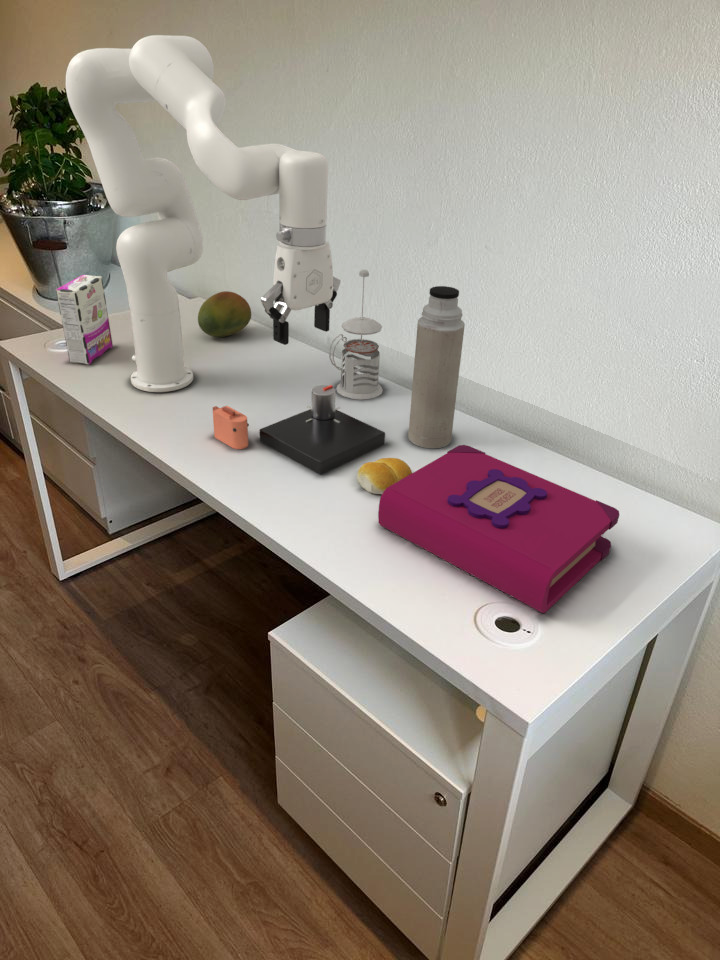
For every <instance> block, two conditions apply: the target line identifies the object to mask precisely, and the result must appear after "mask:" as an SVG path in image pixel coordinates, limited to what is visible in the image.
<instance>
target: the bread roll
mask: <svg viewBox="0 0 720 960" xmlns="http://www.w3.org/2000/svg"><path fill="white" fill-rule="evenodd" d="M412 473H413V472H412V469H411V467H410V465H408V463H406V462H405V461H404V460H402V459H400V458H398V457H382V458H379V459H377V460H375V461H368V462H365V463H363V464H362V465H361V466H360V467H359V468H358V471H357V474H356V477H357V479H356V480H357V483H358V484H359V485H360V486H361V487H362V489H364V490H365V491H367V492H368V493H370V494H374V495H382V494H383V492H384V491H385V490H386V488H387V487H389V486H391V485H393V484H394V483H396V482H398V481H400V480H401V479H403V478H405V477H407V476H408V475H410V474H412Z"/></svg>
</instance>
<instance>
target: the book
mask: <svg viewBox="0 0 720 960" xmlns="http://www.w3.org/2000/svg"><path fill="white" fill-rule="evenodd" d="M446 452H447V453H445V454H444V455H441V456H440V457H438V458H436V459H434V460H433V461H431V462H429V463H427V464H426V465H424V466H422V467H421V468H419V469H417V470H415V471H414V472H412V474H410V475H408V476H407V477H405V478H403V479H401V480H400V481H398V482H396V483H394V484H393V485H391V486H389V487H387V488H386V490H385V491H384V492H383V494H381V496H380V498H379V504H378V512H377V521H378V524H379V526H381V527H382V528H385V529H386V530H388V531H390V532H392V533H394V534H396V535H397V536H399V537H400V538H403V539H405V540H406V541H408V542H410V543H412V544H414V545H416V546H417V547H420V548H421V549H423V550H425V551H427V552H428V553H430V554H433V555H434V556H436V557H438V558H440V559H442V560H444V561H446V562H447V563H449V564H451V565H453V566H454V567H457V568H458V569H460V570H462V571H463V572H465V573H467V574H470V575H471V576H473V577H475V578H477V579H478V580H480V581H482V582H484V583H486V584H488V585H490V586H491V587H493V588H496V589H497V590H498V591H501V592H503V593H505V594H506V595H509V596H511V598H514V599H516V600H518V601H519V602H521V603H523V604H525V605H527V606H529V607H530V608H532V609H534V610H536V611H538V612H540V613H541V614H546V613H547V612H548V611H549V610H550V609H551V608H552V607H553V606H554V605H555V604H556V603H558V601H559V600H560V599H561V598H563V597H564V596H565V595H566V594H567V593H568V592H569V591H570V590H571V589H572V588H573V587H574V586H575V585H576V584H577V583H578V582H579V581H580V580H582V579H583V578H584V577H585V576H586V575H587V574H588V573H589V572H590V571H591V570H592V569H593V568H594V567H595V566H596V565H597V564H598V563H600V562H602V561H603V560H605V558H607V557H608V556H609V554H610V551H611V548H612V542H611V541H610V540H609V539H608V538H606V537H604V536H603V535H604V534H605V533H607V531H608V530H611V529H612V528H614V527H615V526H616V525H617V524H618V523H619V518H620V511H619V510H618V509H617V508H616V507H613V506H611V505H609V504H607V503H604V502H602V501H599V500H597V499H596V500H595V499H593V498H590V497H587V496H585V495H584V494H583V495H582V494H580V493H578V492H576V491H574V490H572V489H569V488H567V487H564V486H561V485H559V484H557V483H555V482H552V481H550V480H548V479H545V478H543V477H540V476H538V475H536V474H534V473H532V472H530V471H526V470H524V469H522V468H520V467H517V466H514V465H513V464H510V463H507V462H505V461H503V460H501V459H498V458H496V457H494V456H491V455H489V454H487V453H486V452H485V451H482V450H480V449H477V448H475V447H473V446H470V445H467V444H459V445H457V446H455V447H453V448H451V449H450V450H448V451H446Z"/></svg>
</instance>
